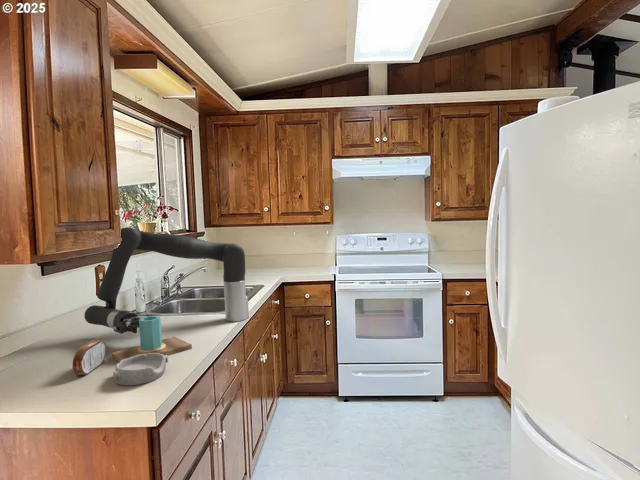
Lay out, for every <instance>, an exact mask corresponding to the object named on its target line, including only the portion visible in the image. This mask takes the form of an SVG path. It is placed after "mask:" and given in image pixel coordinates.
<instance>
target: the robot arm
mask: <svg viewBox="0 0 640 480" xmlns="http://www.w3.org/2000/svg"><path fill="white" fill-rule="evenodd" d="M120 229H121V238H122V241H121V244H120V245H119V246H118V248H116V249H114V250H113V249H112V253H111V258H110V262H109V263H108V266H107V268H106V271H105V273H104V275H103V278H102V279H101V280H102V281H101V284H100V286H99V289H98V291H97V295H96V297H97V299H98V300H100V301H103V302H105V306H103V305H90V306H89V307H87V308H86V309H85V311H84V314H83V317H84V320H85V321H86V323H87V324H90V325H96V326H97V325H98V326H104V327H107V328H110V329H113V332H116V333H118V334H122V335H123V334H124V333H127V334H128V333H134V334H136V333H138V329H139V320H140V319H141V318H144V317H148V316H153V315H152V314H151V315H150V314H147V315H146V316H139V315H138V314H137V313H136V312H134V311H131V310H126V309H117V308H116V306H117V300H118V299H117V298H118V295H119V293H120V290H121V287H122V284H123V280H124V278H125V277H124V276H125V273H126V269H127V267H128V264H129V262H130V259H131V257H132V255H133V254H134V251H147V252H154V253H158V254H161V255H165V256H169V257H175V258H180V259H190V260H191V259H193V260H198V259H199V260H200V259H204V260H206V259H208V260H213V261H218V262H222V263H223V276H222V277H223V295H224V297H223V298H224V310H225V321H228V322H240V321H245V320H246V319H248V318H249V319H250V313H249V296H247V294H246V293H247V291H246V277H245V276H246V256H245V255H246V254H245V250H244V248H243V247H242V246H240V245H238V244H237V243H225V242H224V243H221V242H212V241H208V240H203V239H200V238H196V237H191V236H186V235H179V234H165V233H164V234H163V233H153V232H147V231H143V230H140V229H136V228H133V227H129V226H127V227H122V228H120Z"/></svg>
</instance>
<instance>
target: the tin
mask: <svg viewBox="0 0 640 480" xmlns="http://www.w3.org/2000/svg"><path fill="white" fill-rule="evenodd" d="M106 351H107V348H106V342H105V341H104V340H102V339H101V340H100V339H94V340H93V339H91V341H89V342H87V343H86V344H84V345H82V346H80V347H79V348H78V349H77V350H76V351H75V353H74V356H73V359H72V371H73V374H75V375H76V376H86V375H88V374H90V373H92V372H93V371H95V370H96V369H98V367H100V366H101V365H102V364H103V363H104V362H105V359H106V354H107V353H106Z"/></svg>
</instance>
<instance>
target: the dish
mask: <svg viewBox="0 0 640 480" xmlns="http://www.w3.org/2000/svg"><path fill="white" fill-rule="evenodd" d="M168 356H169V355H168ZM168 356H167V355H165V356H164V355H163V354H159V353H147V354H140V355H137V356H133V357H130V358H127V359H124V360H121V361H120V363H119V362H118V363H116V364H115V371H114V372H113V374H112V378H113V379H114V380H115V382H116V383H117V384H118V385H120V386H128V387H129V386H139V385H144V384H148V383H150V382H153V381H155V380H157V379H158V378H160V377H162V376H163V375H164V373H165V371H166V364H168V363H169V357H168Z"/></svg>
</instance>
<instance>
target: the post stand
mask: <svg viewBox="0 0 640 480" xmlns="http://www.w3.org/2000/svg"><path fill="white" fill-rule="evenodd" d="M192 348H193V345H192V344H191V343H190V342H187V341H185V340H183V339H180V338H178V337H175V336H171V337H167V338H162V346H161V348H158V349H155V350H146V351H145V350H142V349H141V344H140V345H136V346H132V347H129V348H124V349H121V350H116V351H113V352H110V354H111V358H112V359H114V360H115V361H117V362H118V363H120V361H121V360H124V359H127V358H130V357H133V356H137V355H140V354H147V353H159V354H163V355H164V356H165V355H167V356H171V355H175V354H178V353H182V352H184V351H188V350H192Z"/></svg>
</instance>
